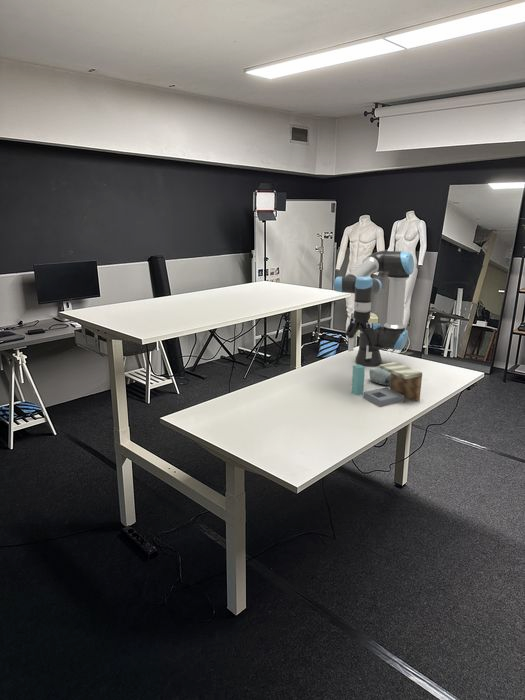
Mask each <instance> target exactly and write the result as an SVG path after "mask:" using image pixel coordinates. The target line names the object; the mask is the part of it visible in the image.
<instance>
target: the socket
mask: <svg viewBox="0 0 525 700" xmlns="http://www.w3.org/2000/svg"><path fill="white" fill-rule="evenodd" d="M363 399H365V400H367V401H368V402H371V403H372V404H374V405H375V406H378V407H379V408H380V407H385V406H389V405H393V404H399V403H404V402H405V401H404V400H405V396H404V395H402V394H400V393H398V392H396V391H394V390H392V389H390V387H387V386H385V387H380V388H375V389H372V390H367V391H363Z"/></svg>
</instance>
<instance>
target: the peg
mask: <svg viewBox="0 0 525 700" xmlns="http://www.w3.org/2000/svg"><path fill="white" fill-rule="evenodd" d="M365 367H366V366H363V365H360V364H354V365H352V377H351V378H352V379H351V394H353V395H355V396H361V395H364V390H365V389H364V385H365V384H364V383H365V372H366V371H365V370H366V368H365Z"/></svg>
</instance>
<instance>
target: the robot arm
mask: <svg viewBox="0 0 525 700" xmlns="http://www.w3.org/2000/svg"><path fill="white" fill-rule="evenodd" d="M414 269H415V261H414V256H413V254H412V253H411V252H409V251H404V250H403V251H401V250H394V251H393V250H379V251H377V252H374V253H370V254H369V255H368V256H366V257H365V258H364V259H362V262H361V264H358V266H356V267H355V268H354V269H352V271H350V272H348V273H347V274H346V275H345V276H336V278H335V279H334V282H333V288H334V290H335V292H338V293H343V294H344V293H345V294H346V293H347V294H354V307H353V308H354V311H353V318H350V319H349V320H350V321H349V324H348V326H347V329H346V331H345V333H344V334H345V336H347V345H348V348H347V352H353V351H354V347H355V335H356V333H357V332H358V331H359V341H358V342H359V343H358V351H357V353H356V356H355V358H354V359H355V360H354V362H355V364H356V365H359V364H360V365H362V366H364V367H379V365H382V362H383V361H382V356H381V351H380V348H383V349H389V350H393V351H395V350H396V351H402V350H403V349H404V348H405V347H406V344H407V342H408V339H409V338H408V337H409V331H408V330H407V329H406V326H405V324H404V310H405V297H406V287H407V284H406V283H407V280H408V279H409V278H410V275H413V273H414ZM375 273H385V274H386V277H387V278H388V280H389V285H388V296H387V297H388V298H387V300H388V301H387V311H386V312H387V313H386V314H387V315H386V323H384V324H383V326H382V324H381V323H378V322H372V323H371V322H369V321H370V319H371V311H372V310H371V308H372V296H373V295H377V294H378V293H380V292H381V290H382V287H383V284H382V282H381V280H380V279H378V278H372V277H370V276H371V275H373V274H375Z"/></svg>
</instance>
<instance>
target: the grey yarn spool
mask: <svg viewBox="0 0 525 700" xmlns="http://www.w3.org/2000/svg"><path fill="white" fill-rule="evenodd" d="M368 373H369V379H370V380H371V381H372V382H374V383H377V384H379V385H383V386H390V383H391V373H390V372H388V371H385V370H383V369H381V368H379V366H372V367H371V368H370V369H369V372H368Z"/></svg>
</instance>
